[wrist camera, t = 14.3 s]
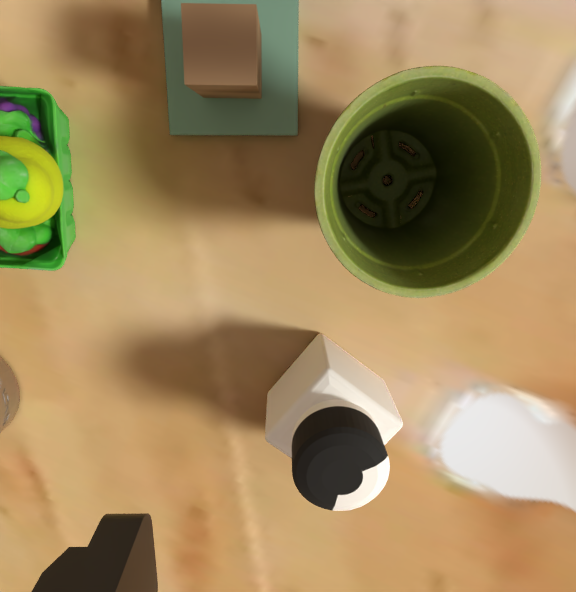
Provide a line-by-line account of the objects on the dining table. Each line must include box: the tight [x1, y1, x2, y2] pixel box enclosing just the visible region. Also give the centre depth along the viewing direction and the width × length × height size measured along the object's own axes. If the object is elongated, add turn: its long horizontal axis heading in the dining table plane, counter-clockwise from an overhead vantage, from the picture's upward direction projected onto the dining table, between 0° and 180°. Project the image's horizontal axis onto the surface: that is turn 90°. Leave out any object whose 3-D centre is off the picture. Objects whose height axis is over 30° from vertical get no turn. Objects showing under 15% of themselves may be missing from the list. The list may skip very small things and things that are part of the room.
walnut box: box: [181, 3, 262, 99], centre depth 30 cm, size 4×4×7 cm
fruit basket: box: [0, 86, 76, 271], centre depth 31 cm, size 11×9×11 cm
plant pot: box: [314, 66, 541, 298], centre depth 31 cm, size 12×12×11 cm
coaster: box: [161, 0, 298, 135], centre depth 34 cm, size 9×9×1 cm
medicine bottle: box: [265, 333, 403, 511], centre depth 35 cm, size 7×7×12 cm
